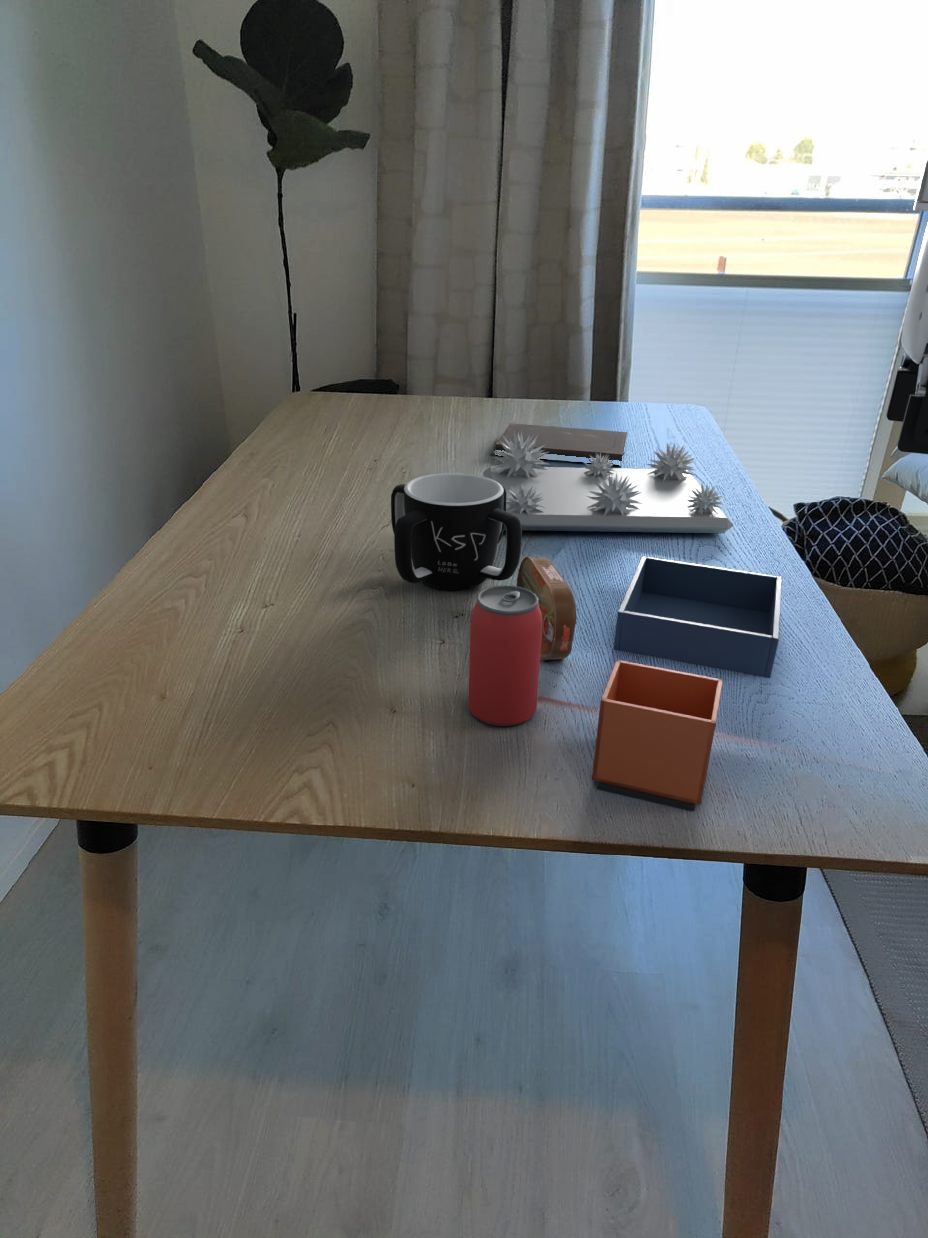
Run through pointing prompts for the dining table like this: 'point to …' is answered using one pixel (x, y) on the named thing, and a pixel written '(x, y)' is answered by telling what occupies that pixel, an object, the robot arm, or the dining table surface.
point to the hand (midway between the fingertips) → (912, 435)
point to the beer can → (504, 655)
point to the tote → (701, 616)
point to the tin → (550, 605)
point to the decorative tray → (606, 494)
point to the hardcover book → (569, 440)
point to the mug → (453, 530)
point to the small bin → (656, 730)
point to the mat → (646, 796)
